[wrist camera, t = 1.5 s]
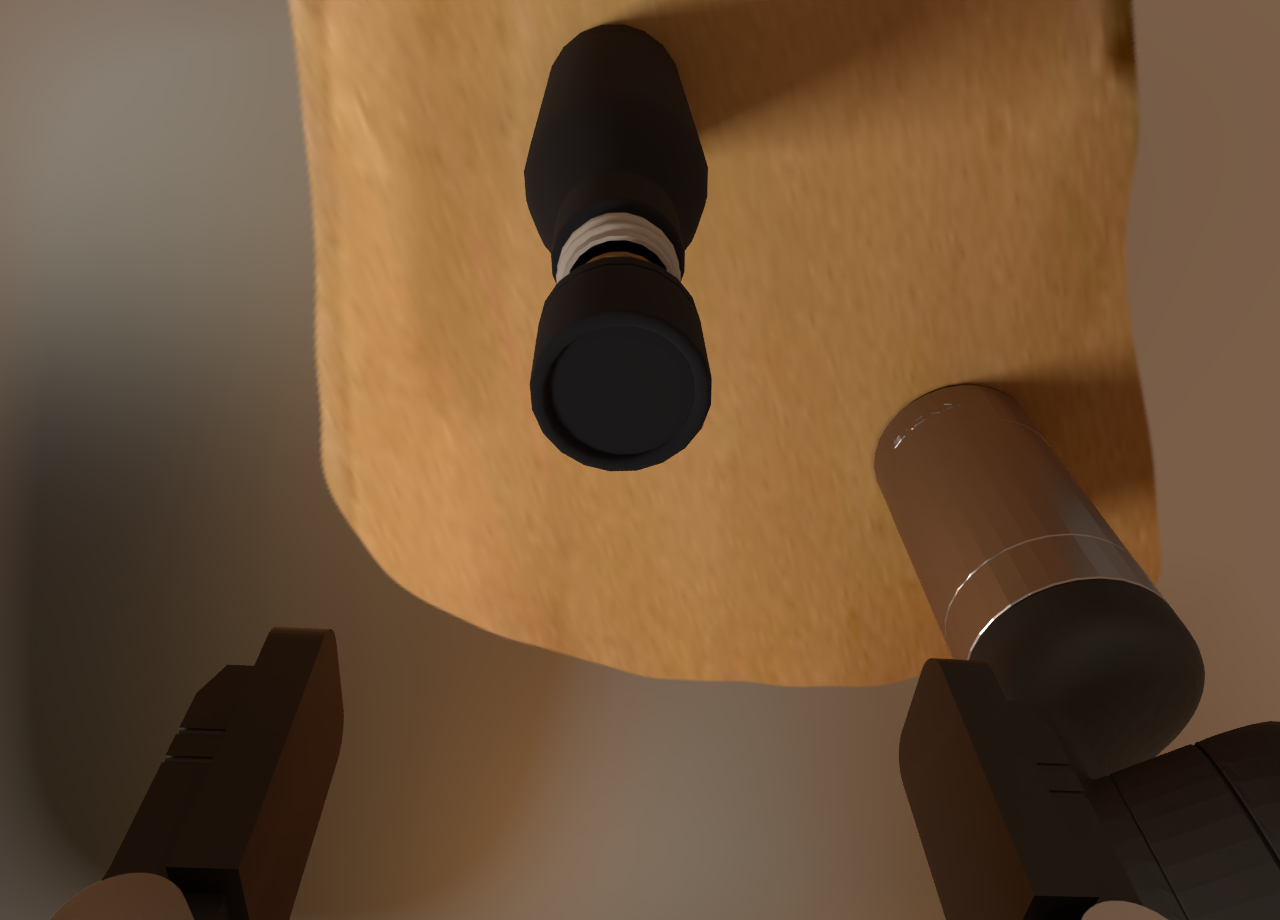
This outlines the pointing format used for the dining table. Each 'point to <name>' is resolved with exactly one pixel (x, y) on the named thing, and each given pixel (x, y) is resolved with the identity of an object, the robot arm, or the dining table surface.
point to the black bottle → (617, 254)
